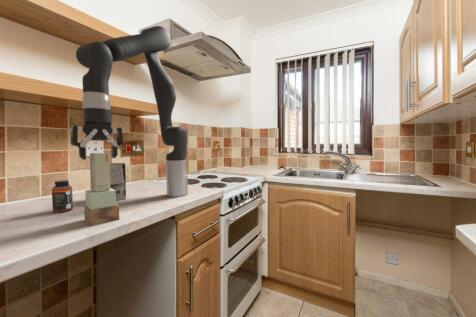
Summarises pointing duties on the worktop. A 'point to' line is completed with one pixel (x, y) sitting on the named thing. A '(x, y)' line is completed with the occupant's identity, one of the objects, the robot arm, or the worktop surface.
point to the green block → (100, 199)
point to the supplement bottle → (62, 196)
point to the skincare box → (100, 171)
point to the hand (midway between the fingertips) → (99, 158)
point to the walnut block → (101, 215)
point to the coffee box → (118, 179)
